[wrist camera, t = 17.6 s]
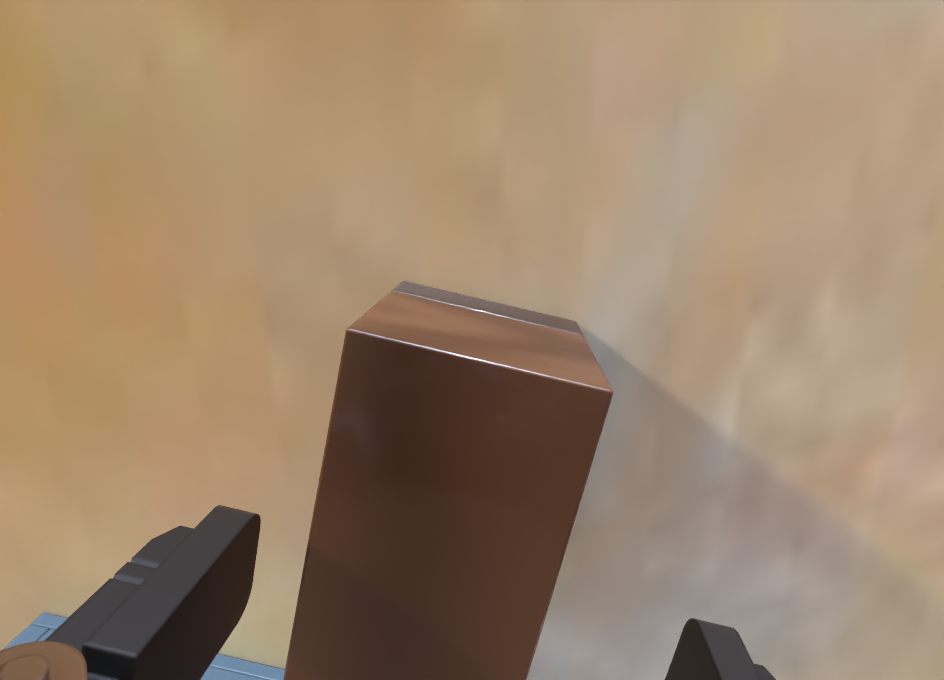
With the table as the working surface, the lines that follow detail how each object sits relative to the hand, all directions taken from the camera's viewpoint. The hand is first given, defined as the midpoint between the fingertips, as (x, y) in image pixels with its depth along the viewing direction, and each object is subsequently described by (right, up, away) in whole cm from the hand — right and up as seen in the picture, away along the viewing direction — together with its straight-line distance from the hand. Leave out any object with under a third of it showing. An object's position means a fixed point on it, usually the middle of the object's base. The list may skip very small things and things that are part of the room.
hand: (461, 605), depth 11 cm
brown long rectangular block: (0, +2, +5) cm, 5 cm away
